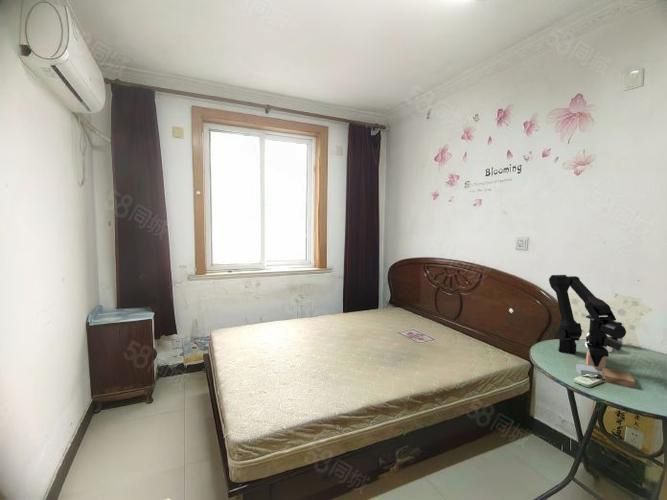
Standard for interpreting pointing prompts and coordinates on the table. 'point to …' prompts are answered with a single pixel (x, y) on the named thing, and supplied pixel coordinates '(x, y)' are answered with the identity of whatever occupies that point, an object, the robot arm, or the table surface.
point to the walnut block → (618, 377)
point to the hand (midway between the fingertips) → (595, 363)
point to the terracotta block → (590, 363)
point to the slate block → (586, 369)
